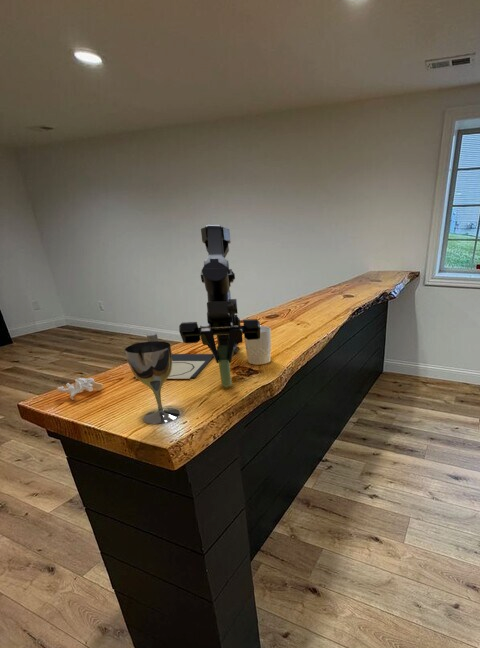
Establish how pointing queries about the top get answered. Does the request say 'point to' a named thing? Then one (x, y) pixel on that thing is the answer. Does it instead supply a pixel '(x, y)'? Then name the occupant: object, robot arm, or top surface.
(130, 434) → the top surface
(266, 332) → the white cup
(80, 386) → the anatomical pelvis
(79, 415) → the top surface
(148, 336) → the cylinder
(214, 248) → the robot arm
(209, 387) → the top surface
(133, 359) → the wine glass
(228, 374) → the sage-green marker
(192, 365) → the sketch pad
